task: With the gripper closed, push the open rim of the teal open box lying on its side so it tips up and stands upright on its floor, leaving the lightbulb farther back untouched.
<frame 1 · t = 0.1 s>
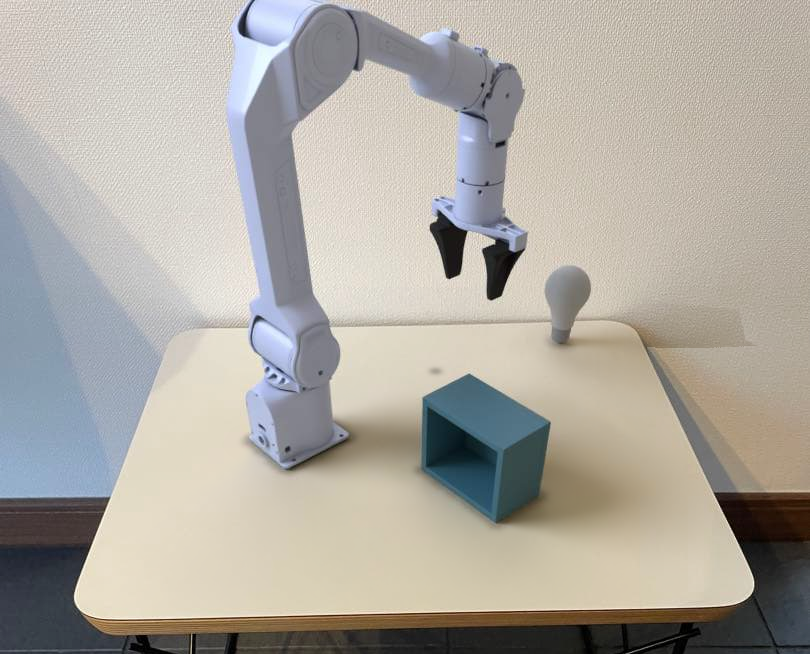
hand: (473, 286, 99), 10 cm above the table, tool pointing down, fingers open, 7 cm apart
teal open box: (479, 481, 87), on the table
lightbulb: (559, 343, 108), on the table
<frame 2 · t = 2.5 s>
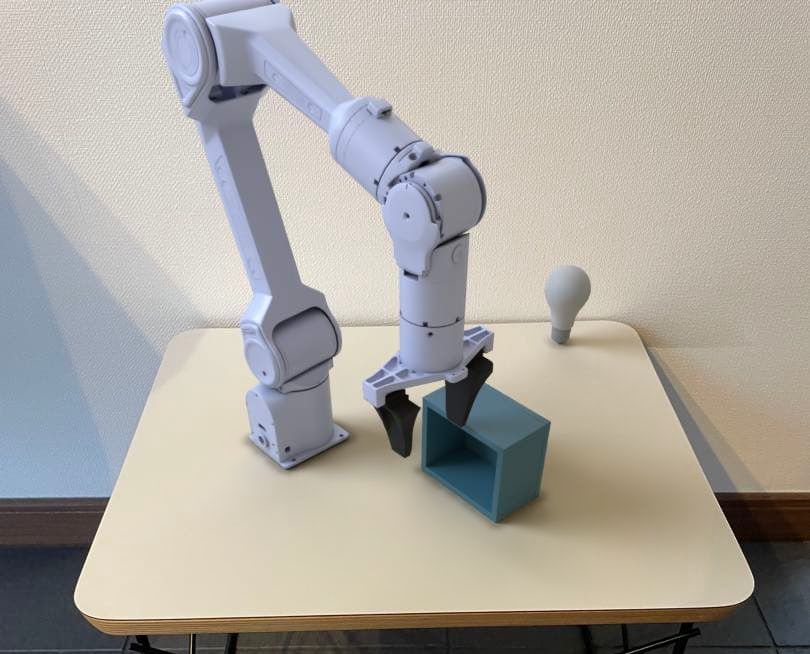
hand: (429, 436, 76), 10 cm above the table, tool pointing down, fingers open, 7 cm apart
nothing on the table moved.
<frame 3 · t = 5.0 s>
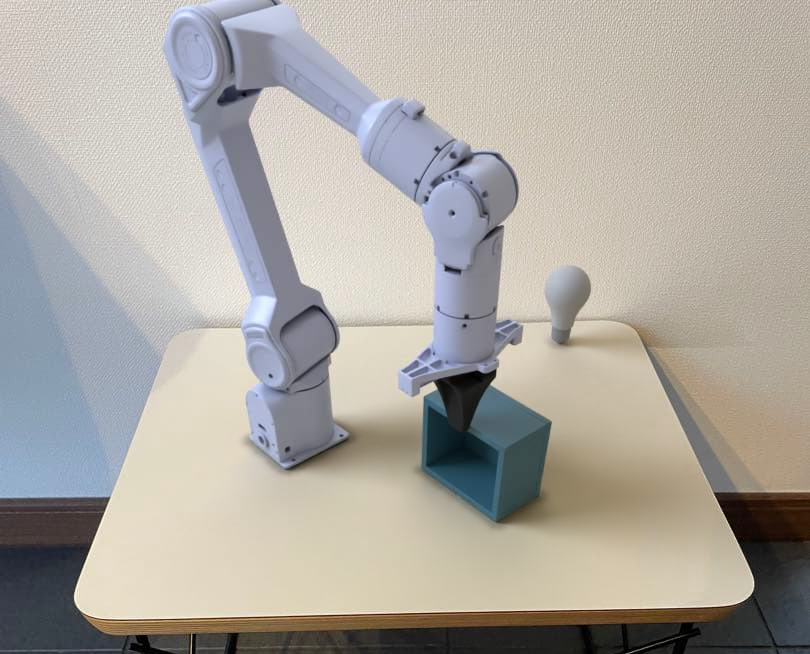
hand: (458, 426, 78), 10 cm above the table, tool pointing down, fingers closed, pressing on teal open box
teal open box: (479, 481, 87), on the table, touching gripper
everything else where it was.
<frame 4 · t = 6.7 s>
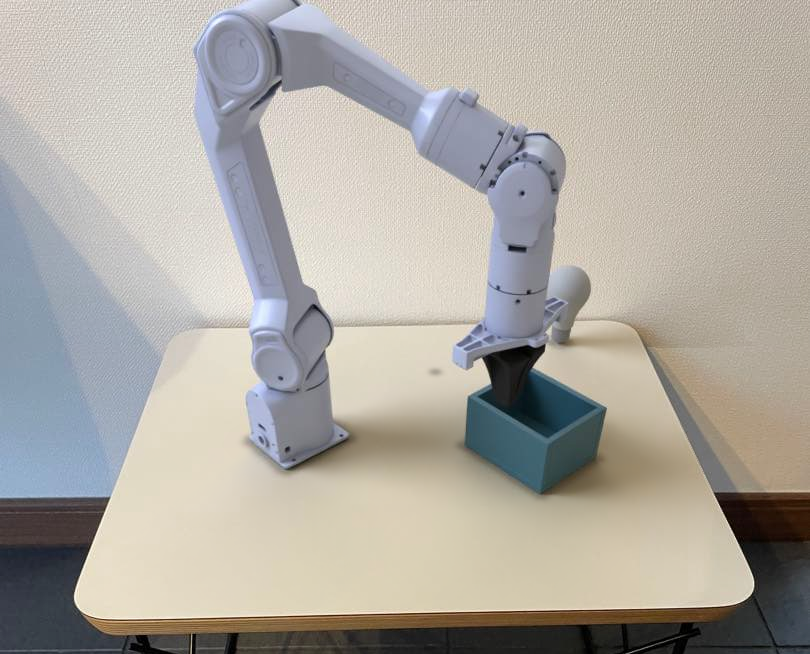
hand: (504, 401, 81), 10 cm above the table, tool pointing down, fingers closed
teal open box: (503, 444, 86), point 4 cm above the table, tilted 90°
everything else where it was.
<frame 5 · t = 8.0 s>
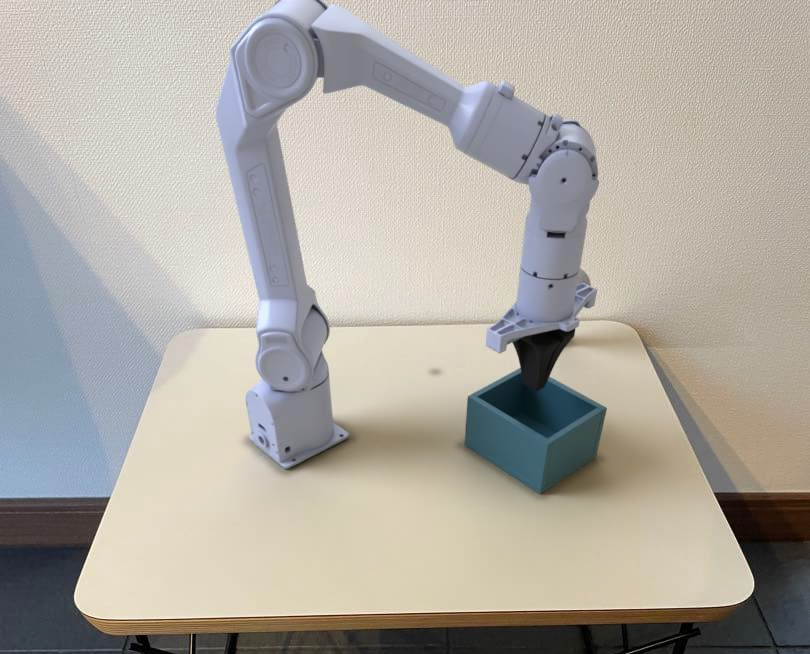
hand: (533, 385, 84), 10 cm above the table, tool pointing down, fingers closed
nothing on the table moved.
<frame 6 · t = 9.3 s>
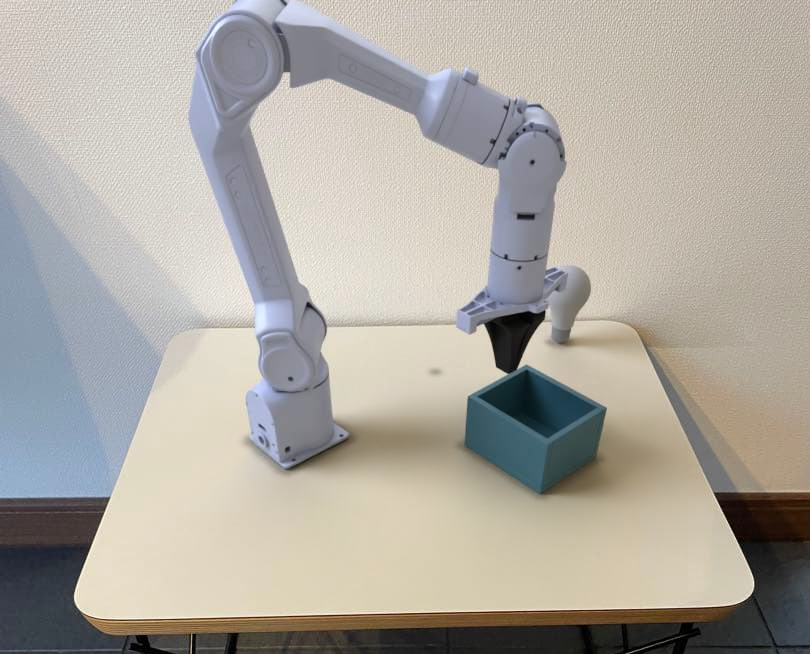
hand: (506, 368, 85), 10 cm above the table, tool pointing down, fingers closed
nothing on the table moved.
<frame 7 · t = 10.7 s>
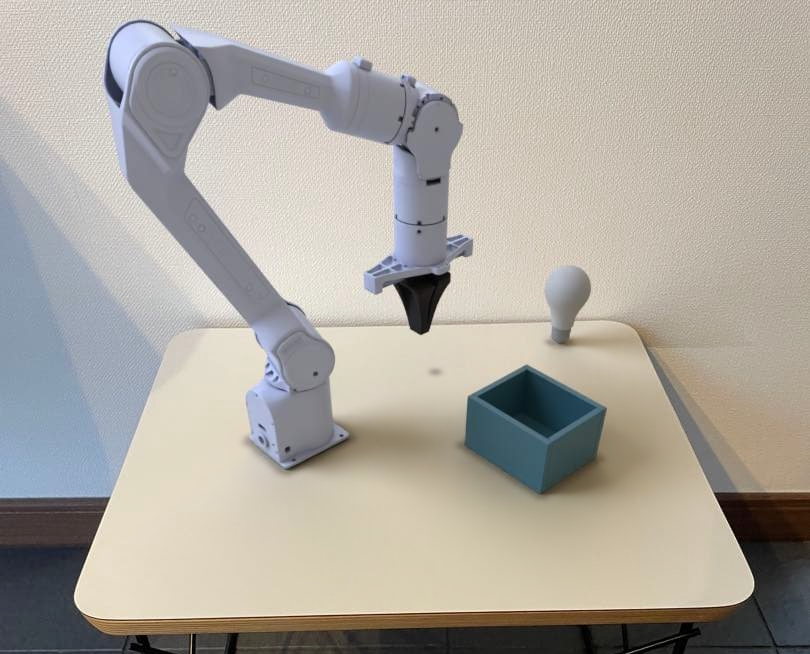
hand: (419, 330, 90), 10 cm above the table, tool pointing down, fingers closed
nothing on the table moved.
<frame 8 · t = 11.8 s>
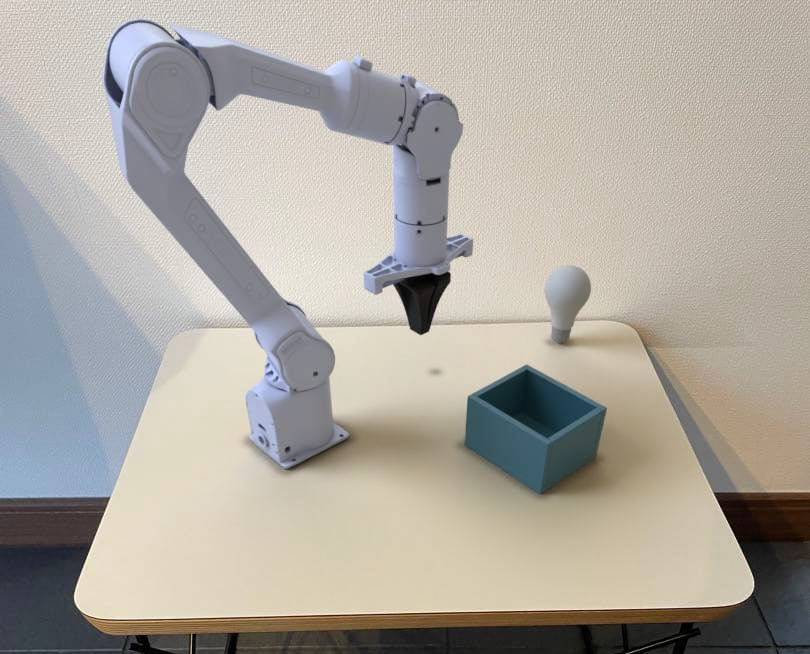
hand: (419, 330, 90), 10 cm above the table, tool pointing down, fingers closed
nothing on the table moved.
at the end: teal open box tilted 90°; teal open box point 3.5 cm above the table; lightbulb moved 0.2 cm from its start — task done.
